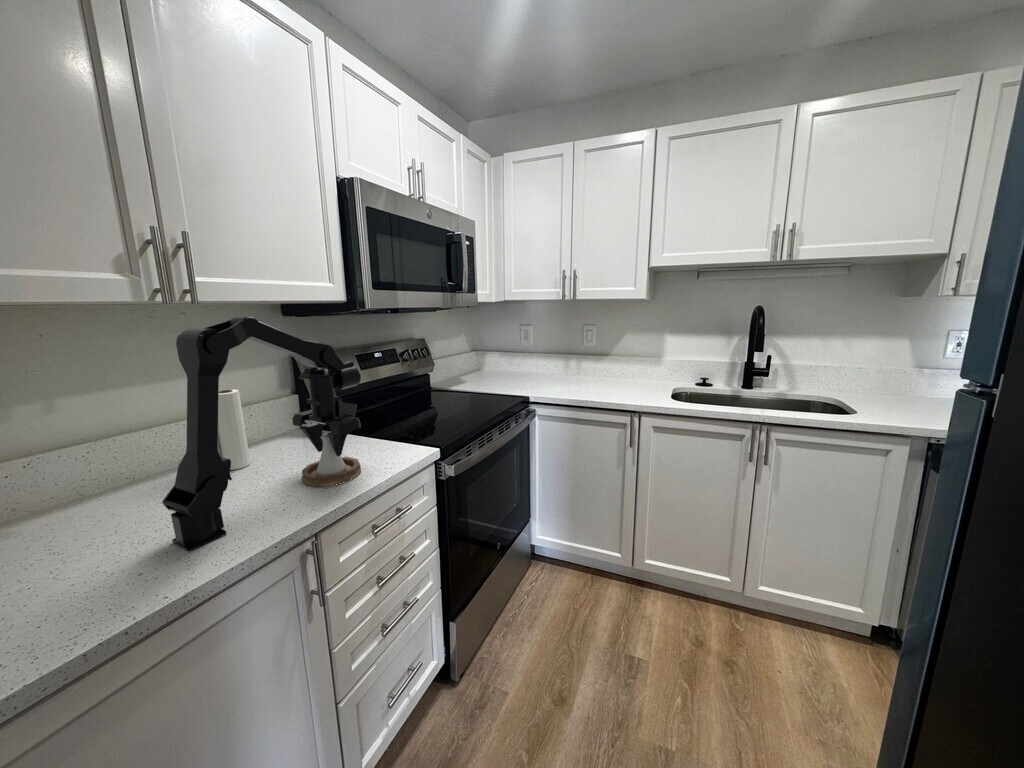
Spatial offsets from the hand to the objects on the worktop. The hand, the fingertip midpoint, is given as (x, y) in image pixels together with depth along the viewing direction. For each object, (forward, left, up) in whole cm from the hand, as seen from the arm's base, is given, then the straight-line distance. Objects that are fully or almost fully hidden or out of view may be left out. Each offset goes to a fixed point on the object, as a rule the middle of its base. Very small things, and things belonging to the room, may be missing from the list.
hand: (329, 453), depth 104 cm
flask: (0, 0, -5) cm, 5 cm away
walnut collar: (0, 0, -6) cm, 6 cm away
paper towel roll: (-8, +30, -6) cm, 32 cm away
